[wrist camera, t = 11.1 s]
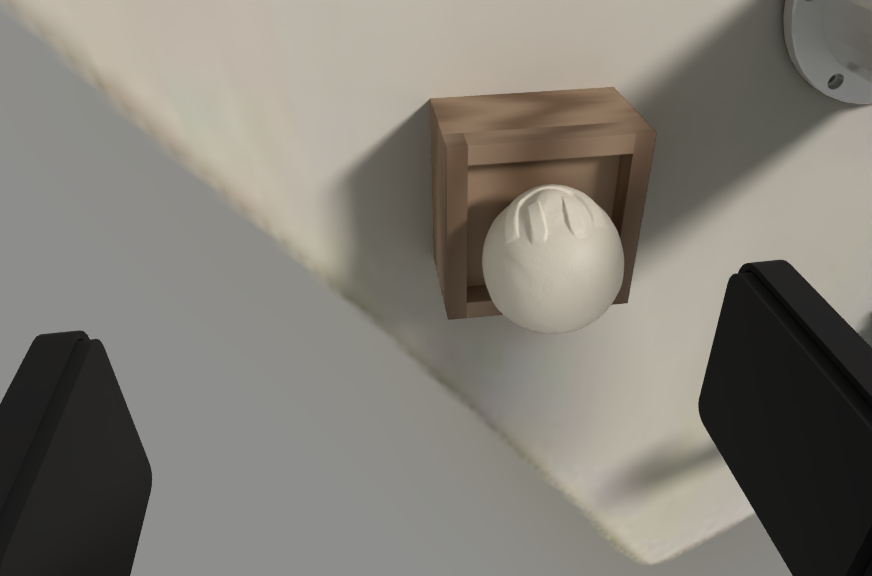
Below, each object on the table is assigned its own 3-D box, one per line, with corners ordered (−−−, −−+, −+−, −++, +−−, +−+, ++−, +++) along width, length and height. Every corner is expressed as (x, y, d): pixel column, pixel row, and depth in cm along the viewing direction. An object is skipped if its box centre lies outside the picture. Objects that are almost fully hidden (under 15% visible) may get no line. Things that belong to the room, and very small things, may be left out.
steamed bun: (602, 147, 35) (646, 221, 30) (600, 265, 40) (639, 347, 34) (466, 170, 35) (486, 248, 30) (480, 285, 40) (500, 370, 34)
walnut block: (611, 85, 39) (656, 132, 34) (592, 241, 45) (627, 303, 40) (429, 96, 38) (446, 147, 33) (433, 255, 44) (448, 319, 39)
